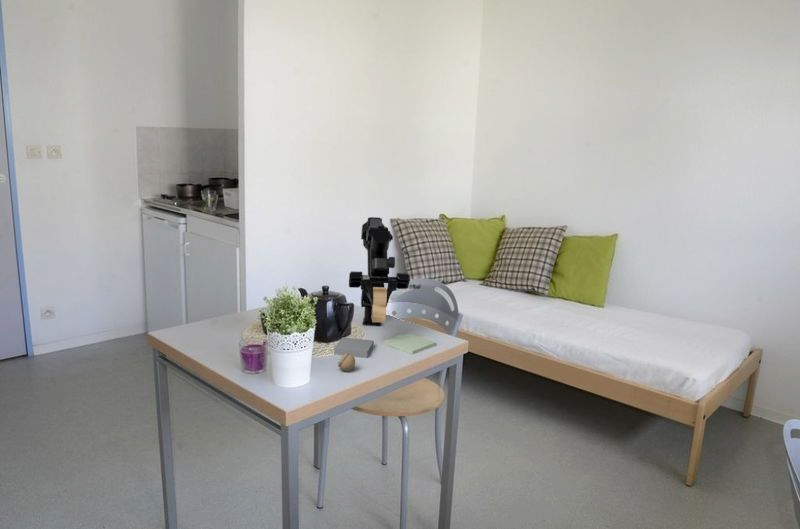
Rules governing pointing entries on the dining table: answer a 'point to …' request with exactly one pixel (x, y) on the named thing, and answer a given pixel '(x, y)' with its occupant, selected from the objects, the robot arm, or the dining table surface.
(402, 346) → the sage mat
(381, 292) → the oak block
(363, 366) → the dining table surface
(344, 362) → the door knob
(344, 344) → the grey block
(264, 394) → the dining table surface
